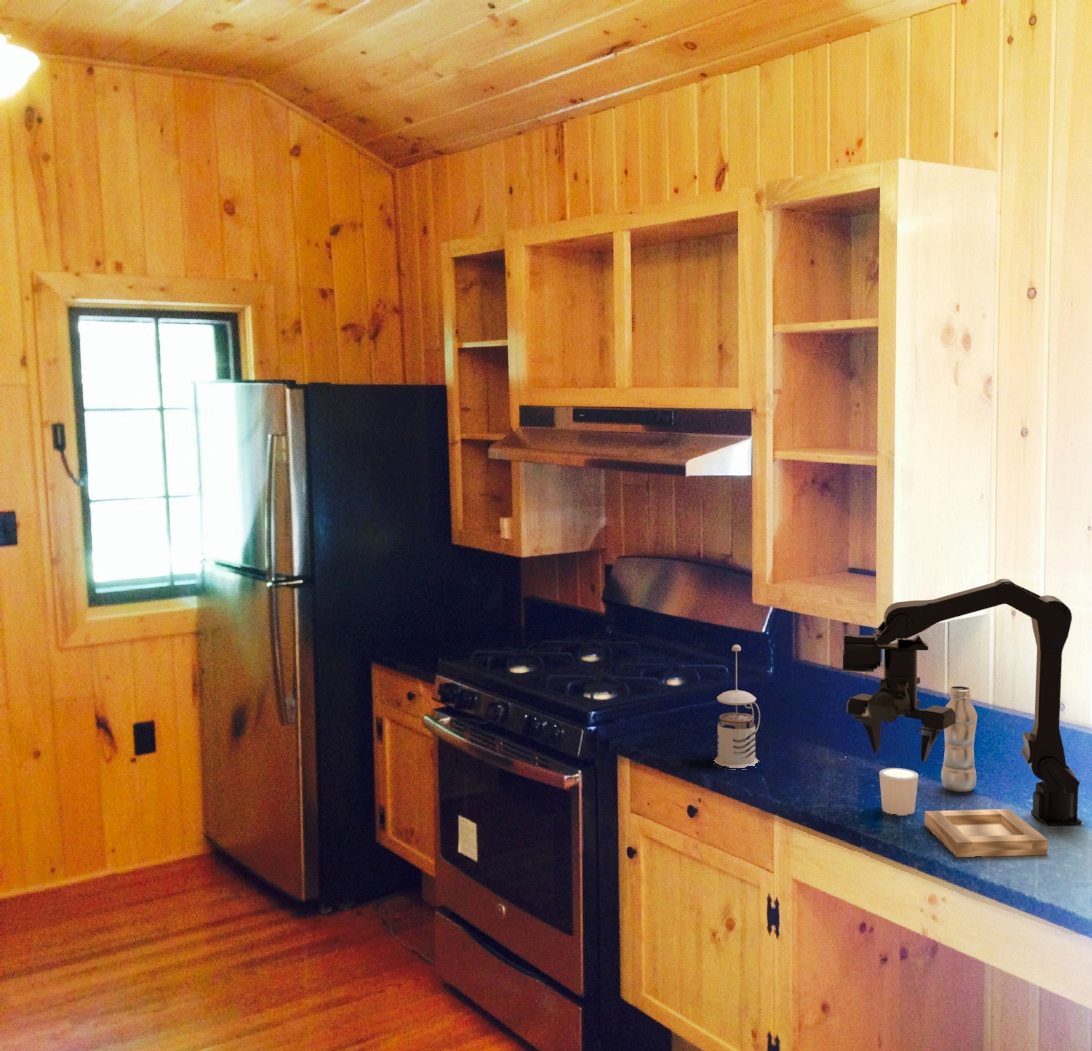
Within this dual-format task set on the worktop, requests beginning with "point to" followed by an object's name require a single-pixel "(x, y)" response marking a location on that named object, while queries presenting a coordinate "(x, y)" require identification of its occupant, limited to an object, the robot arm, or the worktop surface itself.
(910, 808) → the white tapered cup
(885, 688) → the robot arm
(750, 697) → the french press
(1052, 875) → the worktop surface
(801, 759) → the worktop surface
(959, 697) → the plastic bottle
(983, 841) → the holder tray
